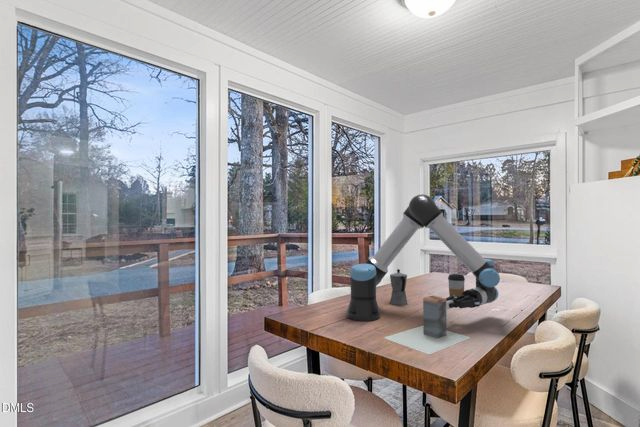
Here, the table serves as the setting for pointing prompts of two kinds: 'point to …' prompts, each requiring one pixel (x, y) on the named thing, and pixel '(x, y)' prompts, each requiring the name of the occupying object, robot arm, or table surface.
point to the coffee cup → (456, 284)
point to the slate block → (434, 316)
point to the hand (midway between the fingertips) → (442, 306)
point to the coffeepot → (398, 288)
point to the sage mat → (425, 340)
